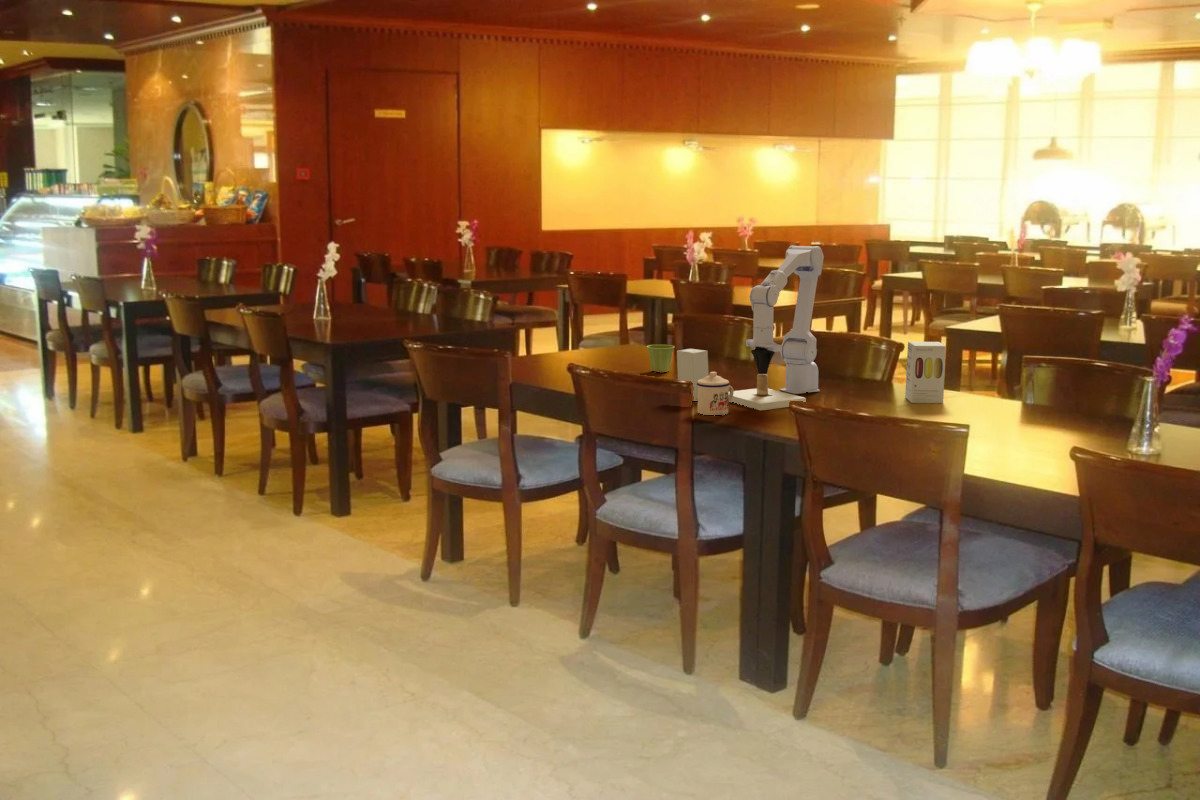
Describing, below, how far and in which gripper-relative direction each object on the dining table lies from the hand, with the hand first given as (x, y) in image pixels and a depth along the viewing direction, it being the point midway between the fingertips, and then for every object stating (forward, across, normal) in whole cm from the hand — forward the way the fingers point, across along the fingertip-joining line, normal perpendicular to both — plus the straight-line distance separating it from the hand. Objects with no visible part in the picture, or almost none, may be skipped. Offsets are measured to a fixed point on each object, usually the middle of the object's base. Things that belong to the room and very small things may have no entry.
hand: (762, 373), depth 351 cm
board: (+8, 0, 0) cm, 8 cm away
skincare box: (+9, -14, -15) cm, 22 cm away
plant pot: (+9, -62, +3) cm, 63 cm away
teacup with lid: (+9, +6, -20) cm, 23 cm away
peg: (+8, 0, 0) cm, 8 cm away
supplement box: (+9, +23, +41) cm, 48 cm away
